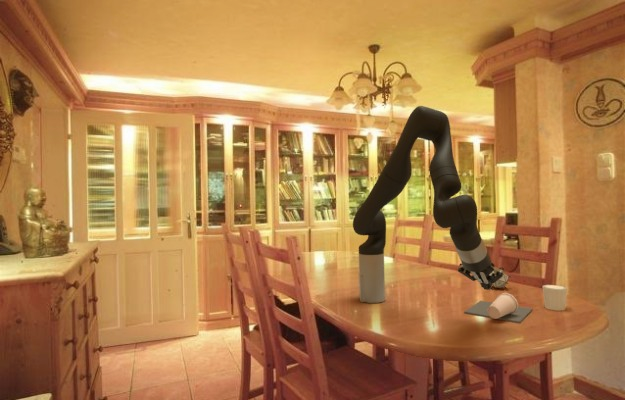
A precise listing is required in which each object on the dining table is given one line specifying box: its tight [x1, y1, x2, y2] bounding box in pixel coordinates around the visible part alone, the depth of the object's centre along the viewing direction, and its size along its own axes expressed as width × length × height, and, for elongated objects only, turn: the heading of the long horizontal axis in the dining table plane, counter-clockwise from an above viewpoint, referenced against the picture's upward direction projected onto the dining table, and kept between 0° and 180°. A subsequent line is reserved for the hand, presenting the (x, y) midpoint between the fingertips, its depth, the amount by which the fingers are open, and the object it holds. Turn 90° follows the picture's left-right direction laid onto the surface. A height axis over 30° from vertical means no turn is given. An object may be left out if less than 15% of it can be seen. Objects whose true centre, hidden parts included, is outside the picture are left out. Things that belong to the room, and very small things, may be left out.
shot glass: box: [542, 284, 568, 312], centre depth 121 cm, size 7×7×7 cm
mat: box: [463, 300, 533, 324], centre depth 118 cm, size 16×16×1 cm
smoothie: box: [487, 292, 519, 320], centre depth 113 cm, size 6×6×14 cm
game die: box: [490, 271, 512, 291], centre depth 148 cm, size 9×8×10 cm
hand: (487, 287), depth 111 cm, fingers closed
